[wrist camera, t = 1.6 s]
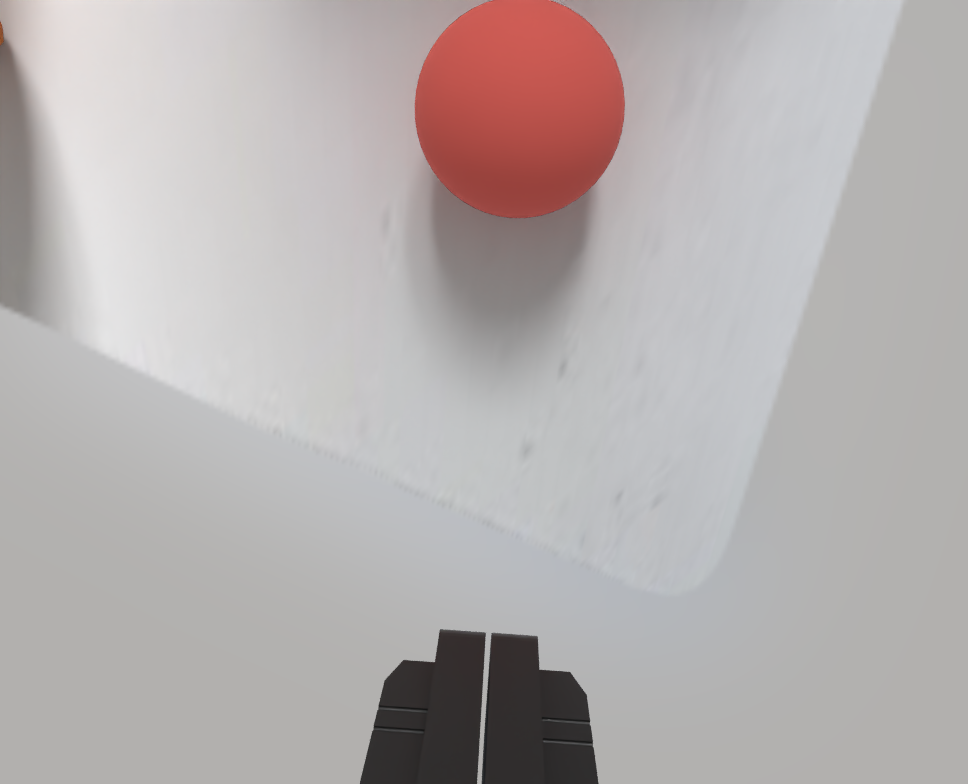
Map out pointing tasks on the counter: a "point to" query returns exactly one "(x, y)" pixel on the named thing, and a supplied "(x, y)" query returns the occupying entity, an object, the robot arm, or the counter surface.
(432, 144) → the ball
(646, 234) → the counter surface
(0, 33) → the carrot
